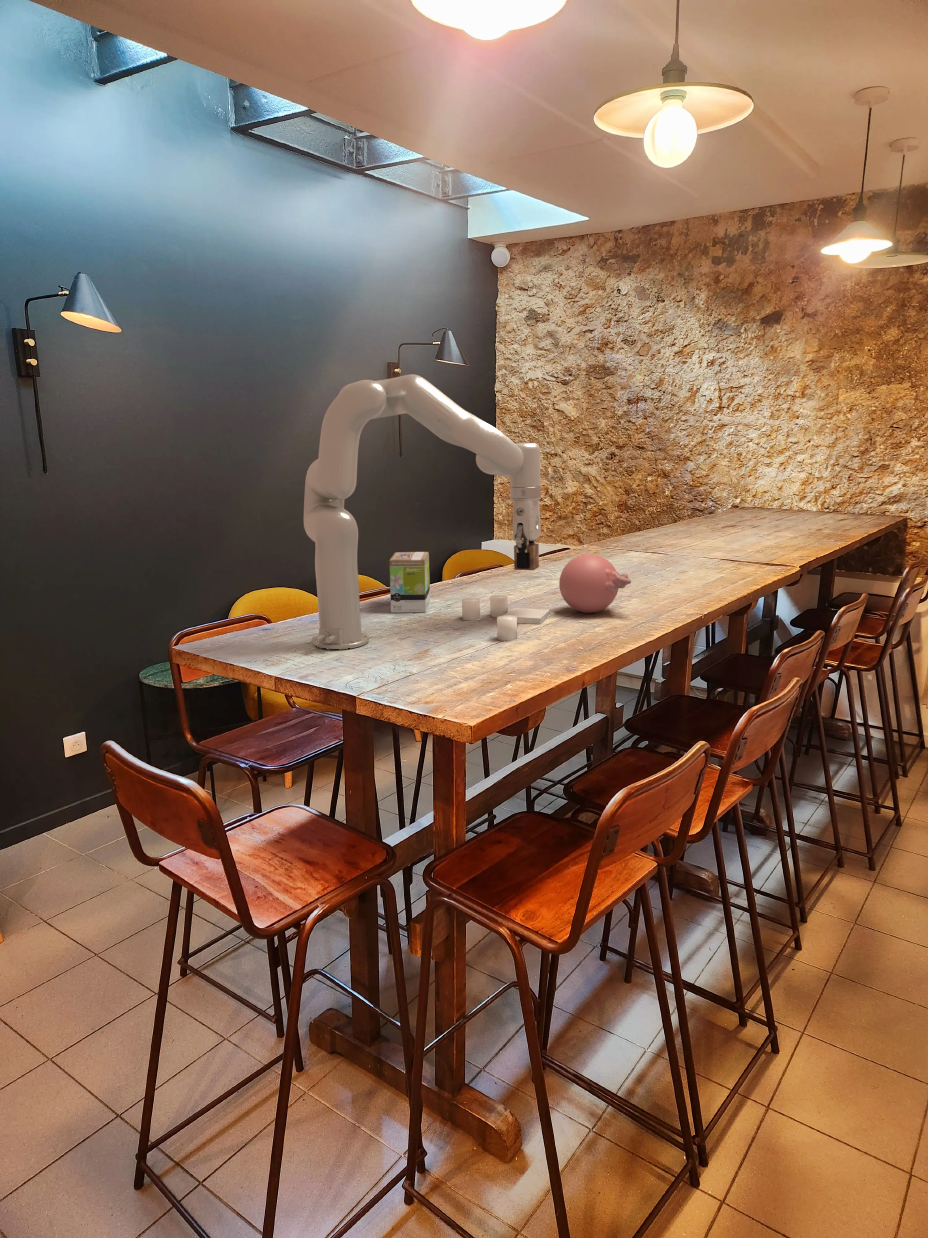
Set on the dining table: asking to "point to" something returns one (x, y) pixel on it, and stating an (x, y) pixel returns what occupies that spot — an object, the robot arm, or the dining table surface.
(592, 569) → the pink balloon
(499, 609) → the white cylinder
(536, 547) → the walnut block
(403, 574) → the tea box
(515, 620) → the cup
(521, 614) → the stone coaster
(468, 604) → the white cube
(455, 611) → the dining table surface
